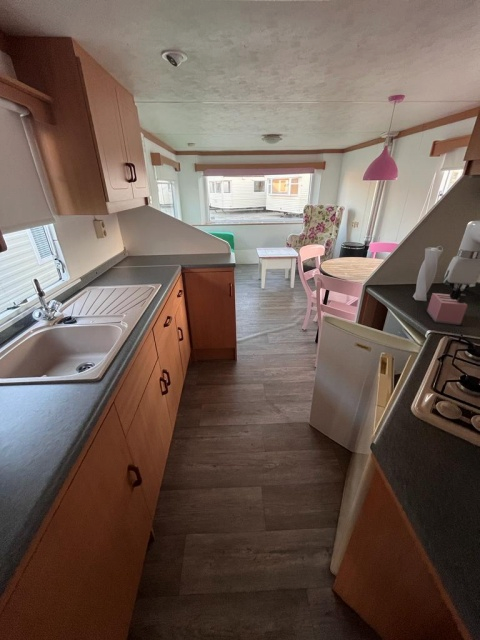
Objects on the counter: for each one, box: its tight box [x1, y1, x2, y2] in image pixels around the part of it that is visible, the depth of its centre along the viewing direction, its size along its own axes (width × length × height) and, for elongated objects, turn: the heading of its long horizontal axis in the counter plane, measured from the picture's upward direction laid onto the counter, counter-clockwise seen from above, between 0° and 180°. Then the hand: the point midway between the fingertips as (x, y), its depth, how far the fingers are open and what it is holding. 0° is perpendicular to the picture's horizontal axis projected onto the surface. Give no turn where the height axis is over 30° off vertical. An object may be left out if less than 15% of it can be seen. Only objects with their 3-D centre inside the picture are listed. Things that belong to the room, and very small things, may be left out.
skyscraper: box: [412, 245, 444, 302], centre depth 134 cm, size 8×7×28 cm
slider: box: [457, 293, 467, 303], centre depth 110 cm, size 2×2×3 cm
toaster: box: [426, 292, 468, 326], centre depth 117 cm, size 9×13×9 cm
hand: (453, 298), depth 111 cm, fingers closed
